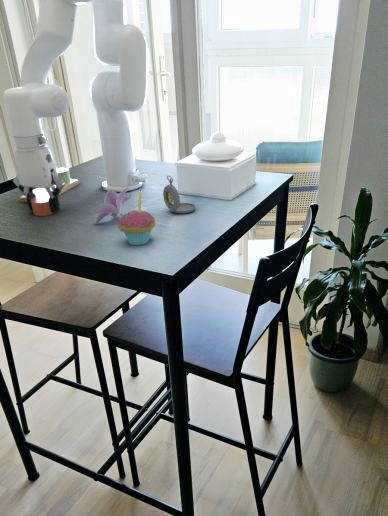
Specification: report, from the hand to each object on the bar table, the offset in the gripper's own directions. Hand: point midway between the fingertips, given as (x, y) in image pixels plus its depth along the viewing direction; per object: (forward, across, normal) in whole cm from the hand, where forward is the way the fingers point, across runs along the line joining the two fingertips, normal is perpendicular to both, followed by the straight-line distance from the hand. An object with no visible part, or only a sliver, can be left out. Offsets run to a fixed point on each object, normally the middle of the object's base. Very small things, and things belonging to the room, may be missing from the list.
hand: (44, 209), depth 134 cm
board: (+1, +8, -16) cm, 18 cm away
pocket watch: (+1, -37, -8) cm, 38 cm away
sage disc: (-1, +9, -22) cm, 24 cm away
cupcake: (+1, -35, +14) cm, 38 cm away
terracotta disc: (+1, 0, 0) cm, 1 cm away
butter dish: (+1, -41, -30) cm, 51 cm away
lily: (+1, -24, +4) cm, 24 cm away
